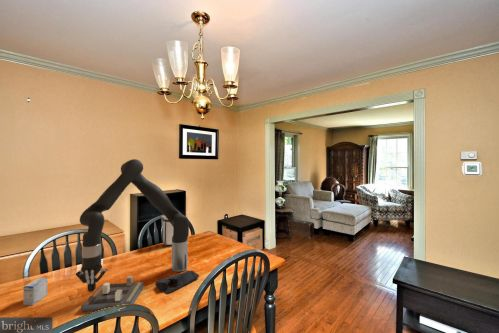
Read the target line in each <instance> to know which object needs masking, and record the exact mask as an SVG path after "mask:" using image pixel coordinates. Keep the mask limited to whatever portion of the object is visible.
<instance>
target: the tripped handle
mask: <svg viewBox="0 0 499 333" xmlns="http://www.w3.org/2000/svg"><path fill="white" fill-rule="evenodd" d="M110 284H111V283H110V282H104V285H103V294H108V292H109V291H110Z"/></svg>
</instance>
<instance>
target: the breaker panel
mask: <svg viewBox="0 0 499 333" xmlns="http://www.w3.org/2000/svg"><path fill="white" fill-rule="evenodd" d="M133 277H134V276H133V275H128V276H127V277H126V282H124V283H123V282H121V283H110V291H109V292H108V294H103V285H104V284H105V283H104V284H100V285H99V287H98V288H96V289H95V290H94V291H93V292H92V294H91V295H90V296H89V297H88V298H87V299H86V300H85V302H83V303H82V304H81V313H88V312H87V311H91V312H98V311H97V310H101V309H104V308H108V307H113V306H117V305H122V304H135V303H136V301H137V299H138V298H139V296H140V295H141V292H142V291H143V289H144V281H140V282H139V281H137V282H134V281H133Z"/></svg>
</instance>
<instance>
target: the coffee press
mask: <svg viewBox="0 0 499 333" xmlns="http://www.w3.org/2000/svg"><path fill="white" fill-rule="evenodd" d="M160 218H162V221H163V230H162V232H163V234H162V235H163V245H162V246H163V248H165V247H167V246H169V245H171V246H172V236H173V226H172V225H171V223H170V222H169V220H168V219H167V218H166V216H165V215H164V214H163V213H162V215H161V217H160Z"/></svg>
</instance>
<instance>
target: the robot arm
mask: <svg viewBox="0 0 499 333" xmlns="http://www.w3.org/2000/svg"><path fill="white" fill-rule="evenodd" d="M143 170H144V164H143V162H142V161H141V160H139V159H136V158H135V159H134V158H133V159H128V161H126V162H124V163H122V164H121V167H120V173H121V174H120V175H119V176H118V177H117V178H116V179H115V180H114V181H113V182H112V183H111V184H110V185H109V186H108V187H107V188H106V189H105V190H104V192H102V194H101V195H100V196H99V197H98V199H97V200H96V201H94V202H93V203H92V204H91V205H90V206H88V207H87V208H86V209H85V210H84V211H83V212H82V213H81V214H80V216H79V223H80V224H81V225H82V226H84V227H88V228H87V231H86V232H84V233H83V235H82V249H81V268H80V270H78V271H77V272H76V273H75V276H76V277H77V278H78V279H79V280H80V281H81V282H82V283H83V284H87V291H88V292H89V293H94V292H95V290H96V289H97V283H98V282H99V281H100V280H101V279H102V278H103V277H104V275H105V274H106V273H107V272H108V269H107V268H103V265H102V236H101V235H102V232H103V228H104V224H105V216H104V214H103V212H106V211H108V210H110V209H111V208H112V207H113V206H114V204H115V203H116V201H117V200H118V199H119V198H120V196H121V195H122V194H123V192H124V191H125V190H126V189H127V187H129V185H130V184H131V183H132V185H133V186H135V187H136V188H137V190H138V191H139V192H140V193H141V194H142V195H143V196H144V197H145V198H146V200H147V201H148V202H149V203H150V204H151V205H152V206H153V207H154V208H155V209H156V210H158V211H159V212H160V213H162V215H163V214H164V215H165V216H166V218H167V219H168V220H169V222H170V223H171V225H172V226H173V236H172V244H171V271H172V272H176V273H179V272H181V273H182V272H185V271H188V270H187V269H188V266H189V259H188V258H189V251H188V242H189V241H188V240H189V239H188V237H189V236H190V235H189V233H190V232H189V231H190V221H189V218H188V217H187V216H186V215H184V214H183V213H181V212H180V211H179V210H178V209H177V208H176V207H175V206H174V204H173V203H172V202H171V200H170V198H169V196H168V195H167V194H166V193H165V192H164V190H162V189H161V188H160V187H159V186H158V185H157V184H155V183H154V182H152V181H150V180H148V179H147V178H146V177H145V176H144V175H143V174H142V172H143ZM98 274H99V276H98Z"/></svg>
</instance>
